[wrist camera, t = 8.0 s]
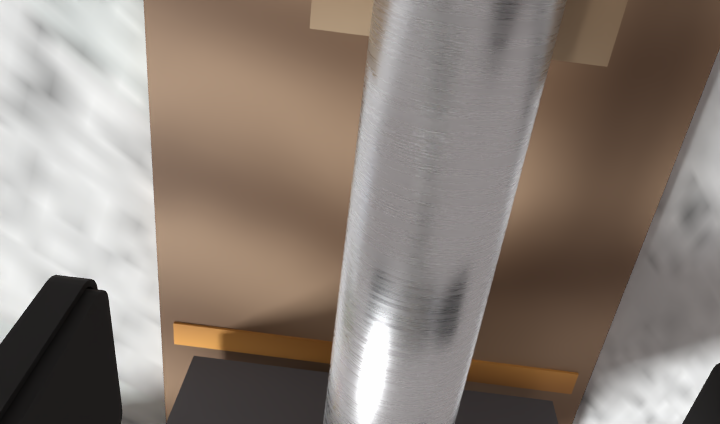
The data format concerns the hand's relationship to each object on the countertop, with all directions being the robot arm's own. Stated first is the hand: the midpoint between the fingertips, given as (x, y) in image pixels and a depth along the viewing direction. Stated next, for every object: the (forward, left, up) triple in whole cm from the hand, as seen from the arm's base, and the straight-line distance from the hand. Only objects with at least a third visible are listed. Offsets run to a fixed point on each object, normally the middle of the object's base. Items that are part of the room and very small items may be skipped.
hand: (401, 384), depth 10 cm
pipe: (+4, 0, -5) cm, 6 cm away
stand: (+4, 0, -12) cm, 12 cm away
